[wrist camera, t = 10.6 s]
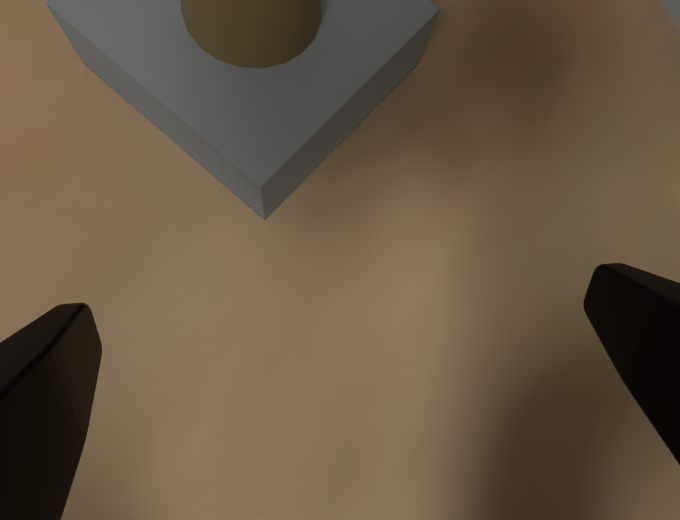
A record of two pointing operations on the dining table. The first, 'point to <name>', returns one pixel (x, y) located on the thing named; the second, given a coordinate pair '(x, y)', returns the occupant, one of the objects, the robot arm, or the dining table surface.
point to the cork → (252, 29)
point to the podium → (251, 84)
